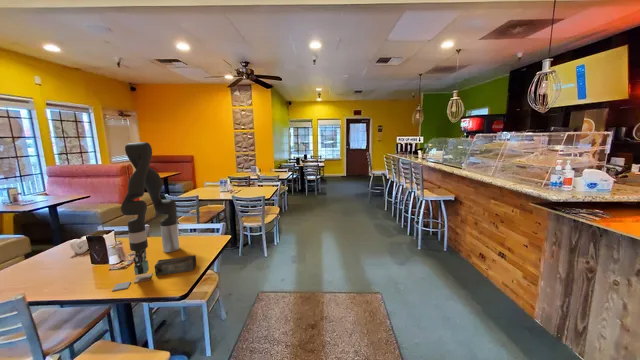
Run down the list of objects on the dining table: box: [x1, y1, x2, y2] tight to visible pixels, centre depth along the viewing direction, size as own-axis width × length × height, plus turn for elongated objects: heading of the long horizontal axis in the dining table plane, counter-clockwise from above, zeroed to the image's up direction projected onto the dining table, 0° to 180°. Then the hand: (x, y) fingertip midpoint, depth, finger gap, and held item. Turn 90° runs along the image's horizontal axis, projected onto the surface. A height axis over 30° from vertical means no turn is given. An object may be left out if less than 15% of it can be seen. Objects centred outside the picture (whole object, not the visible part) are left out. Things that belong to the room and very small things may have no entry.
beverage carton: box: [154, 254, 197, 277], centre depth 147 cm, size 8×19×7 cm, turn 106°
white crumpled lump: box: [69, 235, 89, 255], centre depth 174 cm, size 11×12×9 cm
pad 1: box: [111, 281, 131, 292], centre depth 131 cm, size 6×6×1 cm
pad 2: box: [133, 272, 153, 284], centre depth 139 cm, size 7×7×1 cm
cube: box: [133, 259, 150, 276], centre depth 138 cm, size 5×5×5 cm
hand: (142, 271), depth 138 cm, fingers closed on cube, 5 cm apart
